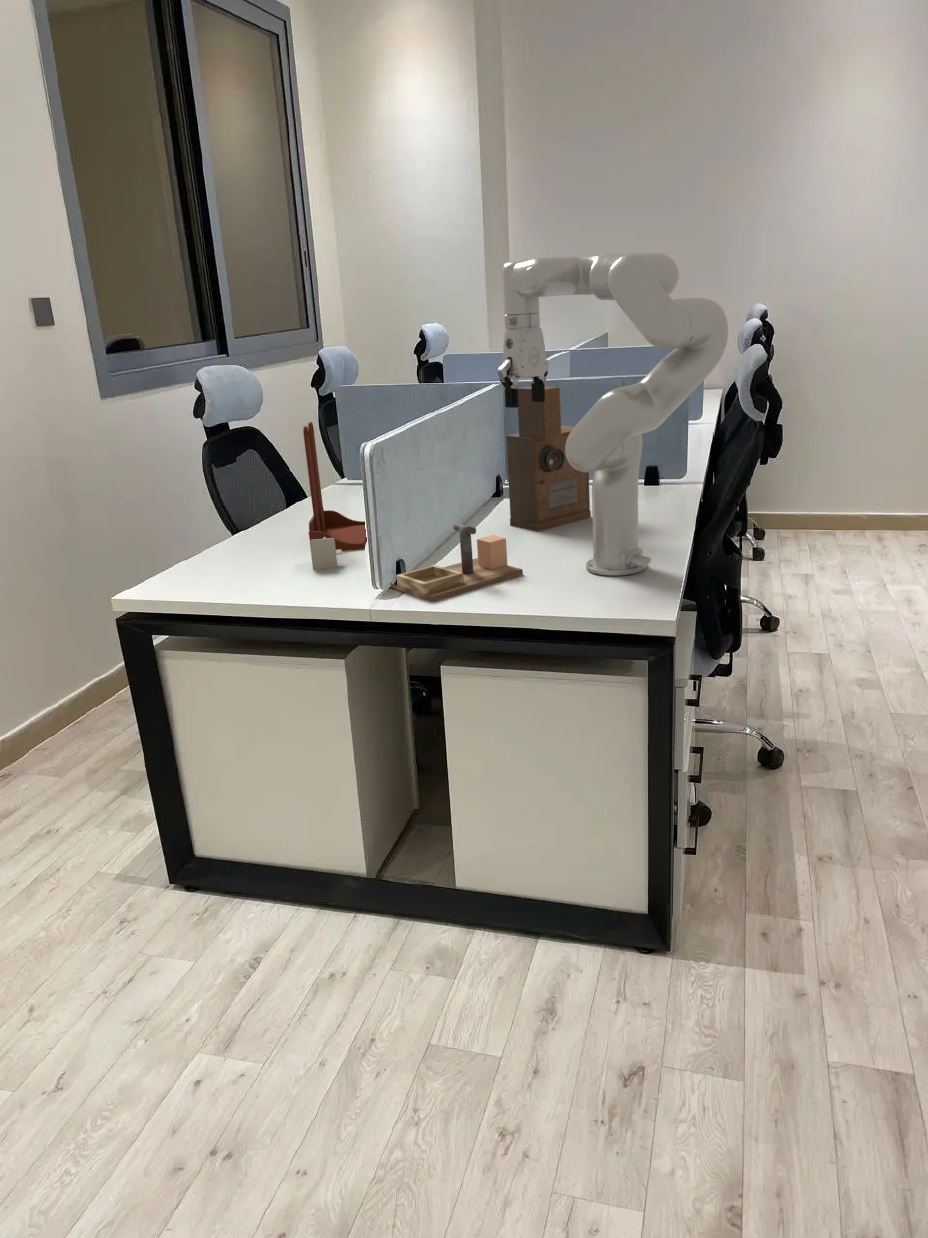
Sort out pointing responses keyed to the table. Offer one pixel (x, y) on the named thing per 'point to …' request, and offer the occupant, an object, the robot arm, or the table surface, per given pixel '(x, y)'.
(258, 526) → the table surface
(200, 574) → the table surface
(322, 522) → the red dustpan
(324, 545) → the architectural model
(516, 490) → the vintage camera
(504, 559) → the salmon orange block
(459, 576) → the wooden board with post
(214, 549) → the table surface
